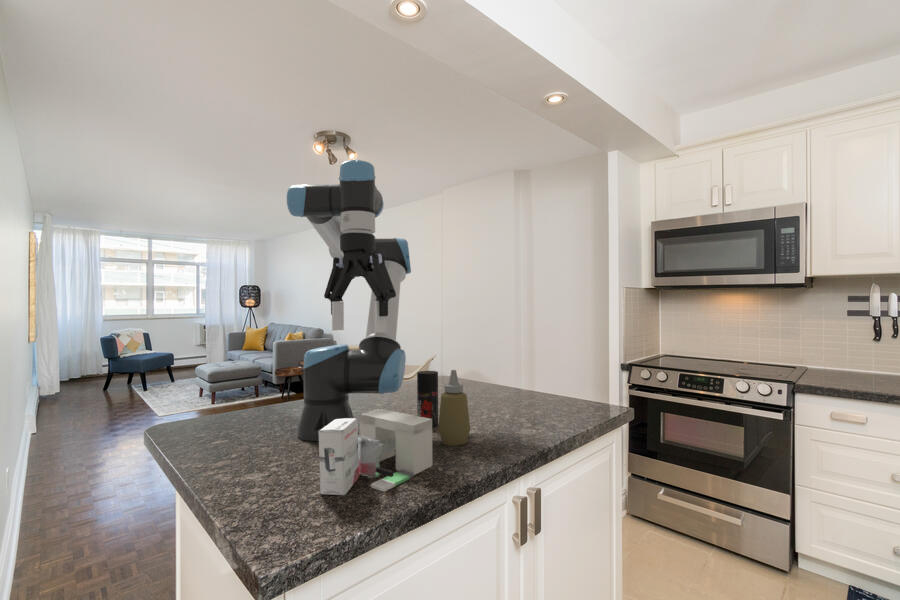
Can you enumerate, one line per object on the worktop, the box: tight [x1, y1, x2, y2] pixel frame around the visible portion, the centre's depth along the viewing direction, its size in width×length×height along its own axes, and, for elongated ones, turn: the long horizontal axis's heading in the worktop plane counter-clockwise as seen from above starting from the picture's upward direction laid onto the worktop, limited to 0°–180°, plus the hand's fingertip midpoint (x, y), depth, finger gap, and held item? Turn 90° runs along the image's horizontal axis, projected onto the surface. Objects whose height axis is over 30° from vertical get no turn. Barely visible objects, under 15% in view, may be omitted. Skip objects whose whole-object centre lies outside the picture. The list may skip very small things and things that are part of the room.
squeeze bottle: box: [437, 369, 471, 447], centre depth 107 cm, size 8×8×18 cm
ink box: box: [318, 417, 360, 496], centre depth 82 cm, size 9×5×12 cm, turn 174°
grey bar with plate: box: [358, 434, 396, 478], centre depth 89 cm, size 12×10×7 cm
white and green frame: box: [359, 408, 433, 493], centre depth 90 cm, size 16×15×10 cm
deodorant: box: [416, 370, 439, 429], centre depth 122 cm, size 6×6×15 cm
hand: (358, 331), depth 94 cm, fingers open, 13 cm apart
